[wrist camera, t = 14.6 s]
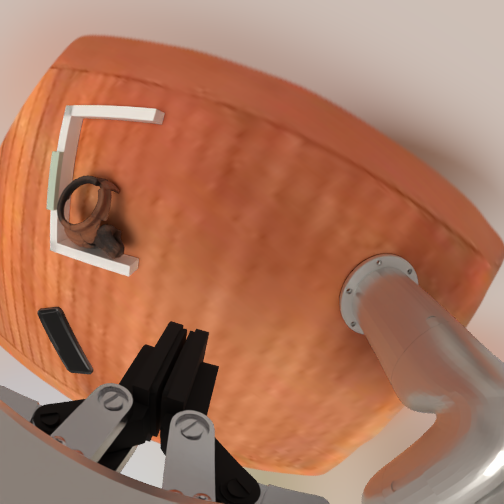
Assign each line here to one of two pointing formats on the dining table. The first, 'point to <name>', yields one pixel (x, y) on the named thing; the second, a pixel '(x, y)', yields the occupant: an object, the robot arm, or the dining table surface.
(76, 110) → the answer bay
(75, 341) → the phone
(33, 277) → the dining table surface
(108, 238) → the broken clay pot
